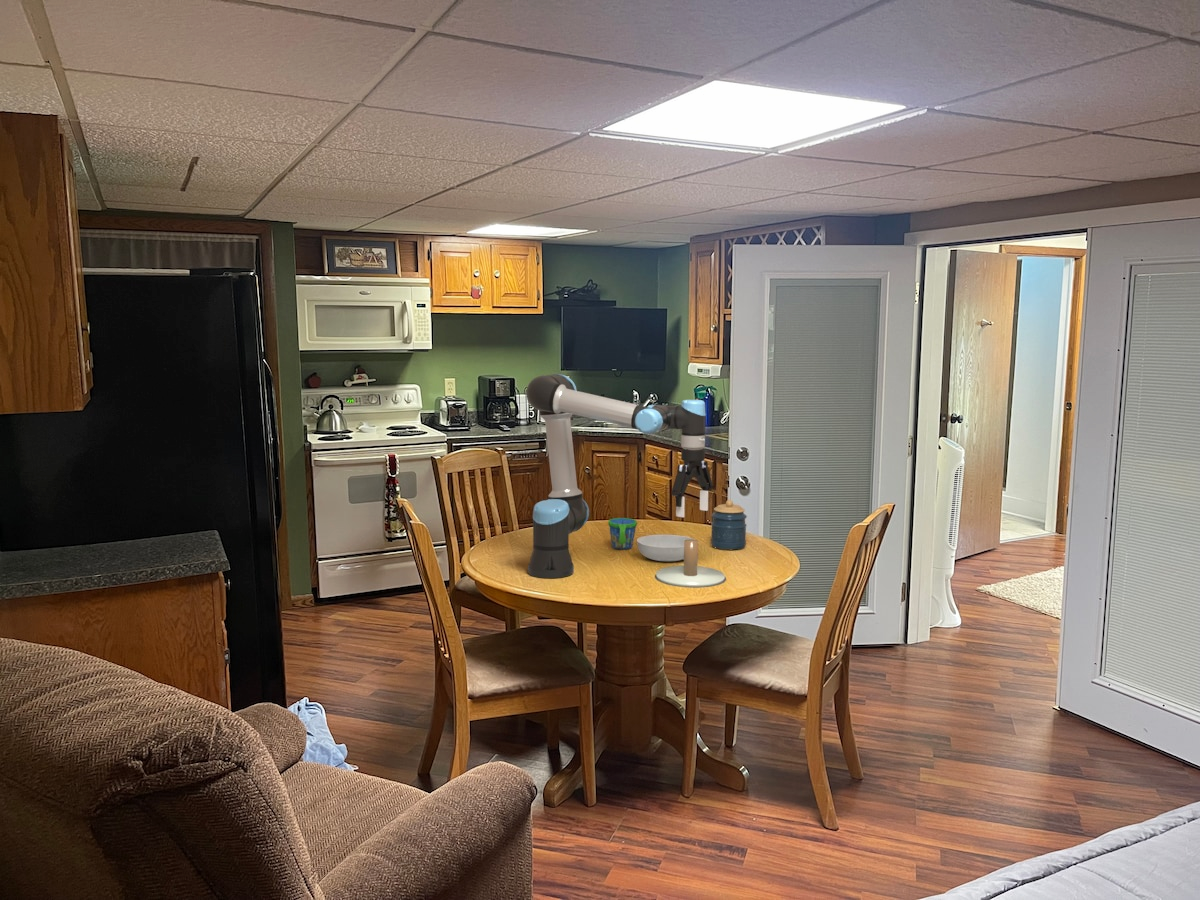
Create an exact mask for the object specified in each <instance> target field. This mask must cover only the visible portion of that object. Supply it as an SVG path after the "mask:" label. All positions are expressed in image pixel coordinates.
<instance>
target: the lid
mask: <svg viewBox="0 0 1200 900" xmlns="http://www.w3.org/2000/svg"><path fill="white" fill-rule="evenodd" d="M693 539H694V538H693ZM693 539H688V540H684V559H683V565H672V566H666V567H662V568H660V569H658V570H657V571H656V573H655V574H656V578H657V579H658V580H659V581H661V582H664V583H667V584H670V585H669V586H672V585H675V586H674V587H678V586H683V587H682V588H688V587H702V588H707V587H706V586H712V587H714V586H713V585H717V584H720V583H722V582H723V581H724V580H725V577H726V575H725V573H724V572H722V571H721V570H718V569H716V568H713V567H709V566H701V565H698V563H699V562H698V561H699V560H698V558H699V557H698V555H699V541H698V540H697V539H695V540H693ZM658 580H657V581H658ZM659 581H658V582H659ZM661 582H660V583H661ZM664 583H663V584H664ZM667 584H666V585H667ZM722 584H723V583H722ZM720 585H721V584H720ZM717 586H718V585H717Z"/></svg>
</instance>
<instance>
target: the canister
mask: <svg viewBox="0 0 1200 900" xmlns="http://www.w3.org/2000/svg"><path fill="white" fill-rule="evenodd" d="M713 510H714V512H713V513H711V517H712V522H711V523H710V525H711V539H710V544H711V545H712V546H713V547H712V546H711V547H712V548H714V547H716V548H715V549H717V548H720V549H719V550H721V549H740V550H742V549H741V548H743V549H745V548H746V544H747V543H746V542H747V541H746V540H747V539H746V537H747V523H746V519H747V517H748V515H746V514H745V513H744V512H745V511H746V510H745V508H743V507H742V506H741V505H739V504H738V505H737V504H734V502H733V501H732V500H731V499H727V500H726V502H725V503H724V504H722V503H721V504H718V505H717V506H715V507H714V508H713ZM744 547H745V548H744Z"/></svg>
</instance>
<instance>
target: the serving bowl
mask: <svg viewBox="0 0 1200 900" xmlns="http://www.w3.org/2000/svg"><path fill="white" fill-rule="evenodd" d="M688 539H693V540H696V539H695V538H692V537H689V536H685V535H677V534H648V535H643V536H640V537H638V538H637V539H636V544H637V548H638V551H639V552H640V553H641V555H643V557H645V558H647V559H649V560H653V561H658V562H666V563H668V562H669V563H670V562H678V561H679V562H680V561H684V540H688Z"/></svg>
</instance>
